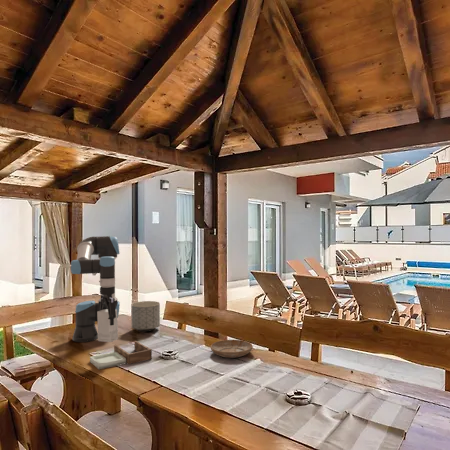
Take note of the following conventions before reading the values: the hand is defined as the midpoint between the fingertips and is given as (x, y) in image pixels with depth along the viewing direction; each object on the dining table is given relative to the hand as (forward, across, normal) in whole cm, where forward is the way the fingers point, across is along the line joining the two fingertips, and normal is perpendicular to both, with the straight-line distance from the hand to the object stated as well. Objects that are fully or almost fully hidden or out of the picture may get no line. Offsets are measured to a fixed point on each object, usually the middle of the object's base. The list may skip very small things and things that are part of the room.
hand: (107, 329), depth 197 cm
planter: (+17, -46, +43) cm, 66 cm away
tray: (+17, 0, 0) cm, 17 cm away
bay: (+17, -1, +14) cm, 22 cm away
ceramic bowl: (+18, +29, +59) cm, 68 cm away
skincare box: (+6, 0, 0) cm, 6 cm away
